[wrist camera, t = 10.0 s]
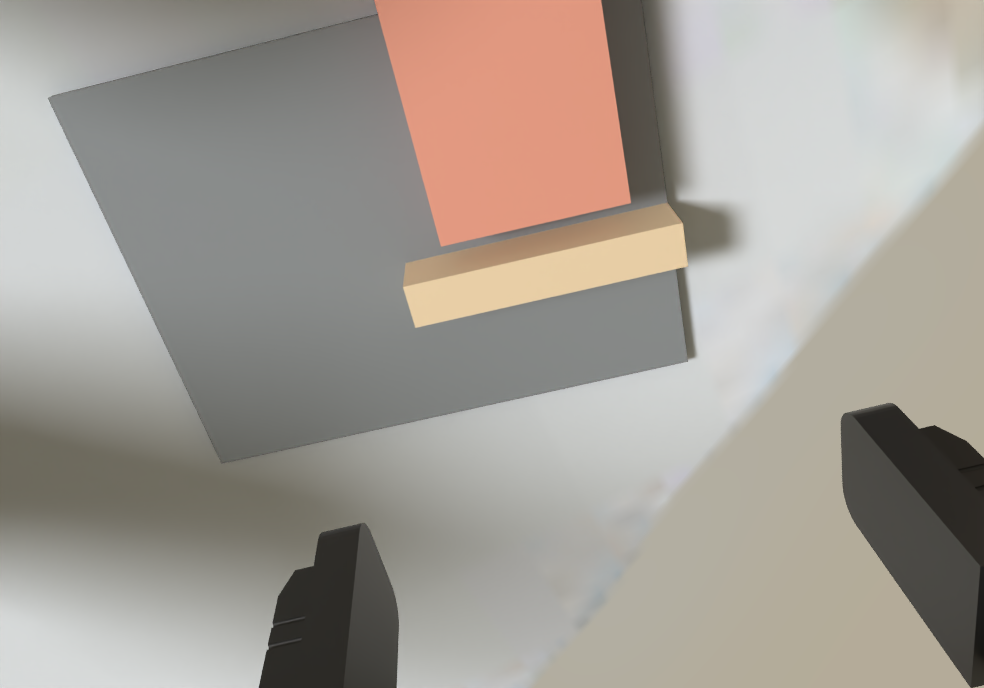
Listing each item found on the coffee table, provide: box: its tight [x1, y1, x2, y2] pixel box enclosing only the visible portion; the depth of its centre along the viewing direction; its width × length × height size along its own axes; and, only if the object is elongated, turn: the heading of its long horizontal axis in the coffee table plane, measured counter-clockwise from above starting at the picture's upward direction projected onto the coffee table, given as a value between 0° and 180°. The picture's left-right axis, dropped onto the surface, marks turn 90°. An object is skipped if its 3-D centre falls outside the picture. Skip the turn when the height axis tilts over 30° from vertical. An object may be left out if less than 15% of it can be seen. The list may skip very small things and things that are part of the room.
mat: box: [48, 0, 688, 463], centre depth 27 cm, size 18×14×2 cm
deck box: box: [374, 0, 631, 247], centre depth 24 cm, size 6×2×8 cm
